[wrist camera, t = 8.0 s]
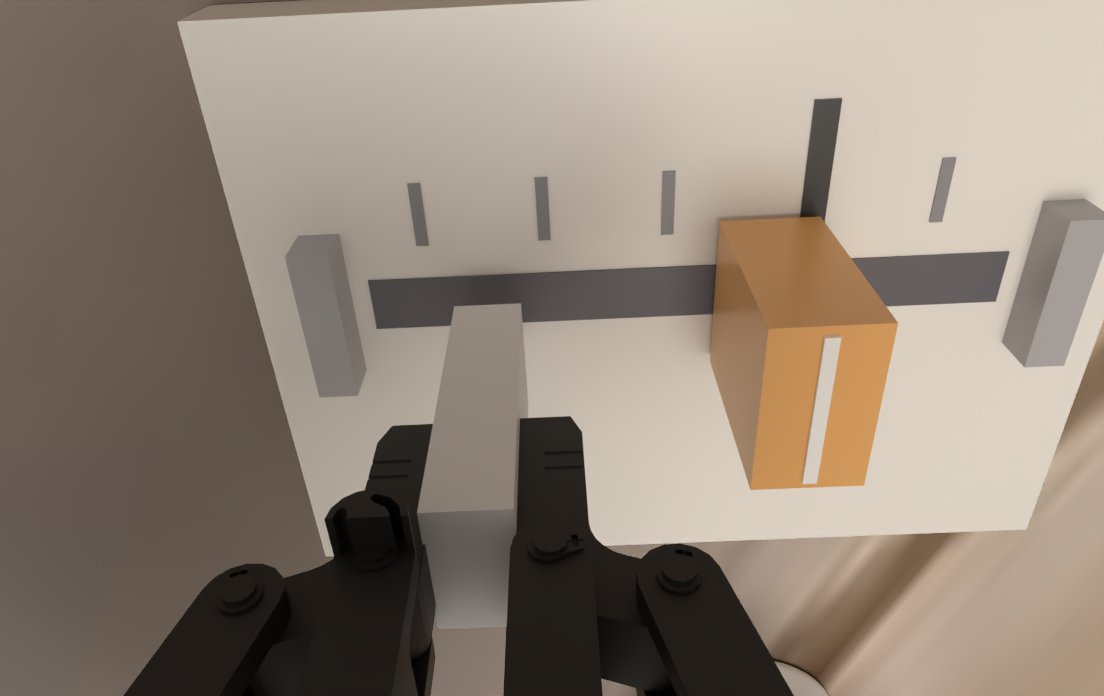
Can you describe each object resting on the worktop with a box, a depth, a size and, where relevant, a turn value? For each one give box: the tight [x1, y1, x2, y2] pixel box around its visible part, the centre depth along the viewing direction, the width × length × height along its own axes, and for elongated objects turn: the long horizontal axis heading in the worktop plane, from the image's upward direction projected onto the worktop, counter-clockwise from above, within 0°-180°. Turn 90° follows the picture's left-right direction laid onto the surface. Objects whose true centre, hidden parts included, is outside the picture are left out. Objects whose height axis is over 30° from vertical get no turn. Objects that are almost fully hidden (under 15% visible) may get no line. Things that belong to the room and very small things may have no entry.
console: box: [177, 0, 1104, 557], centre depth 21 cm, size 22×16×3 cm
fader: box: [710, 216, 898, 490], centre depth 18 cm, size 2×4×5 cm, turn 3°
